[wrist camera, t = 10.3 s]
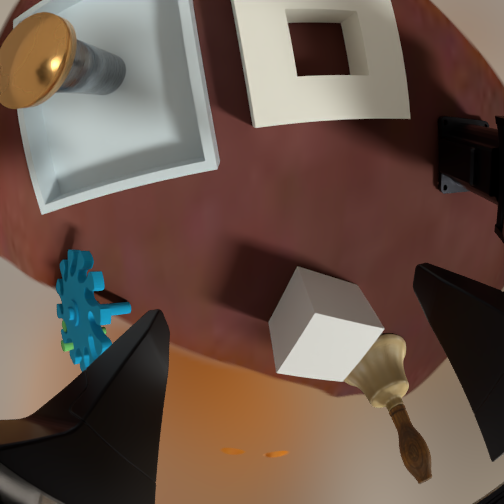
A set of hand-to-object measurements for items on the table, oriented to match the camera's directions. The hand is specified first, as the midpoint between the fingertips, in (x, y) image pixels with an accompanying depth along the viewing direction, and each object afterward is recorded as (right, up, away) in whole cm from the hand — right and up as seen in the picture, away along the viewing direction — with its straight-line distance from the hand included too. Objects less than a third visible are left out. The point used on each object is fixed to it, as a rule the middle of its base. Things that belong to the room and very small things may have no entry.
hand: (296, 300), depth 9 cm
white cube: (+4, -3, +16) cm, 16 cm away
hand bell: (+12, -10, +20) cm, 26 cm away
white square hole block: (+3, +15, +6) cm, 16 cm away
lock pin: (-11, +13, +5) cm, 18 cm away
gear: (-15, -2, +14) cm, 21 cm away
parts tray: (-11, +14, +6) cm, 19 cm away
